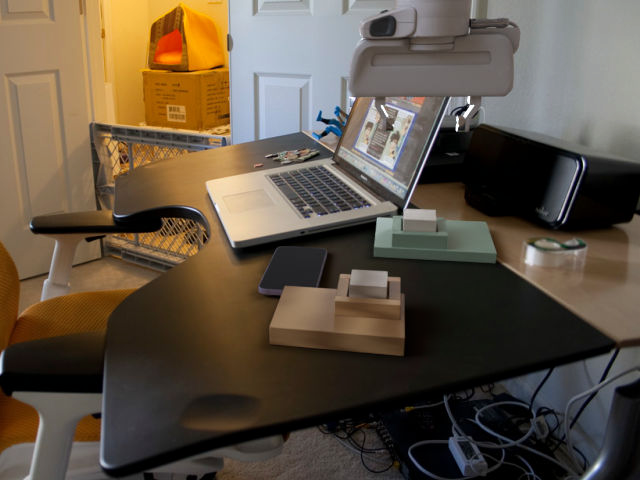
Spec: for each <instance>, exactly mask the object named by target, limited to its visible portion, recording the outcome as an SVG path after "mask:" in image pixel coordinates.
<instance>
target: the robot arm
mask: <svg viewBox="0 0 640 480" xmlns="http://www.w3.org/2000/svg"><path fill="white" fill-rule="evenodd" d="M395 1H396V2H395V6H394V7H393V8H391V9H384V10H381V11H380V12H379V13H377V14H376V13H375V14H374V15H371V16H368V17H365V18H364V19H362V20H361V21H360V23H359V29H358V30H359V35H360V37H361V39H360V40H359V41H358V42H357V43H356V45H355V47H354V48H353V50H352V51H353V52H352V55H351V59H350V64H349V70H348V79H347V91H348V93H349V94H350V96H351V97H352V98H374V107H375V109H376V111H377V112H378V114H379V117H380V118H381V119H382V125H381V126H382V128H381V129H382V132H394V131H395V125H394V124H395V116H394V115H388V113H387V111H386V109H385V106H386V104H387V98H467V103H468V105H469V107H468V108H467V110H466V111H465V113H464V114H463V115H457V116H456V125H455V131H456V132H457V133H469V132H470V124H471V120H472V118H473V117H474V116H475V114H476V113H477V111H479V109H480V107H481V106H482V98H485V97H486V98H491V97H492V98H496V97H506V96H507V95H509V94H510V92H511V91H513V89H514V81H515V62H514V59H515V58H514V55H515V54H516V52H517V51H518V49H519V47H520V40H521V29H520V27H519V26H518V24H517V23H515V22H514V21H511V20H510V19H509V18H508V17H497V18H471V10H472V0H395ZM509 26H510V27H509Z"/></svg>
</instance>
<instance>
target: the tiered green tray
mask: <svg viewBox="0 0 640 480" xmlns="http://www.w3.org/2000/svg"><path fill="white" fill-rule="evenodd" d="M436 217H437V228H436V232H415V231H403V215H392V217H376V225H375V234H374V235H375V236H374V244H373V257H374V258H389V259H391V258H392V259H405V260H407V259H410V260H426V261H428V260H429V261H443V262H444V261H446V262H461V263H462V262H464V263H481V264H482V263H483V264H497V256H498V253H497V249H496V246H495V244H494V241H493V240H494V239H493V238H492V235H491V231H490V229H489V226H488V223H487V221H479V220H478V221H476V220H474V221H473V220H453V219H451V220H449V219H446V218H445V216H444V217H443V216H441V217H440V216H436Z"/></svg>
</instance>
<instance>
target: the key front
mask: <svg viewBox="0 0 640 480" xmlns="http://www.w3.org/2000/svg"><path fill="white" fill-rule="evenodd" d="M388 277H389V272H388V271H387V270H386V271H385V270H370V269H369V270H367V269H351V279H350V285H349V297H359V298H374V299H387V280H388Z"/></svg>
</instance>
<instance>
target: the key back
mask: <svg viewBox="0 0 640 480" xmlns="http://www.w3.org/2000/svg"><path fill="white" fill-rule="evenodd" d="M402 213H403V214H402V216H403V231H415V232H436V228H437V217H438V216H437V210H436V209H423V208H421V209H420V208H419V209H418V208H403V212H402Z"/></svg>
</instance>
